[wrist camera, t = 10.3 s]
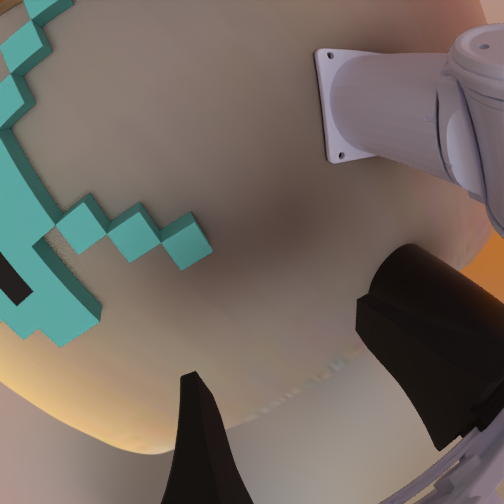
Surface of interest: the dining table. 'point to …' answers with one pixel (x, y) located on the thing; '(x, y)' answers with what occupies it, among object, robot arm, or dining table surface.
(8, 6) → the board
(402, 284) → the water bottle
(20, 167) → the alien figure
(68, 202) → the dining table surface
